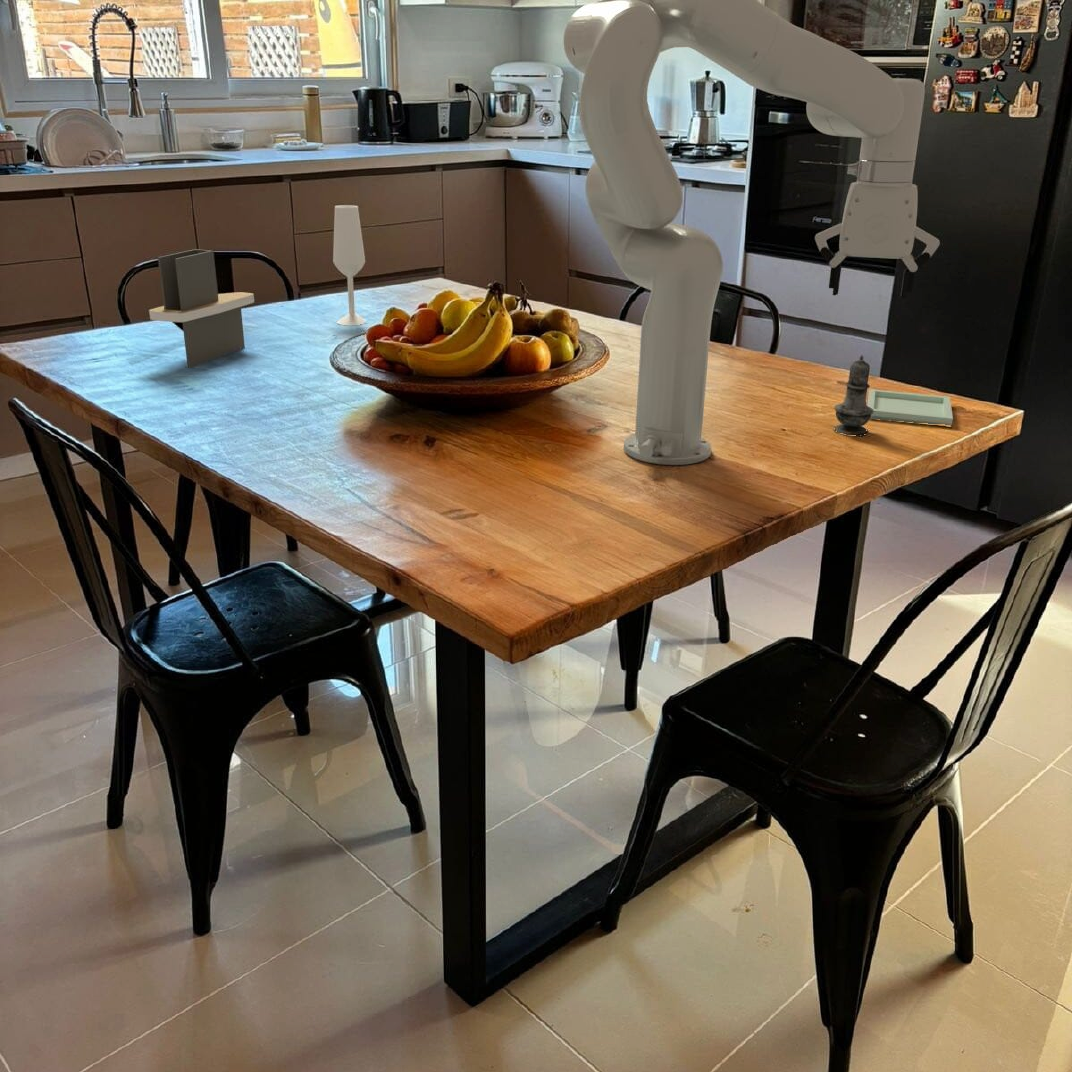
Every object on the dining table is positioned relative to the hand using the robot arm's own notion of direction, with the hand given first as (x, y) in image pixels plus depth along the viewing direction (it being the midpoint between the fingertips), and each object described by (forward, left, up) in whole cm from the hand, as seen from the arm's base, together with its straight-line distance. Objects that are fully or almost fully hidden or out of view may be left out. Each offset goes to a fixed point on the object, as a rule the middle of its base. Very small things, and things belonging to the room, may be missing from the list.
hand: (868, 295), depth 155 cm
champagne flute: (+40, +106, -21) cm, 115 cm away
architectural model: (+3, +117, -21) cm, 119 cm away
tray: (+14, -9, -21) cm, 26 cm away
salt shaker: (0, 0, -21) cm, 21 cm away
